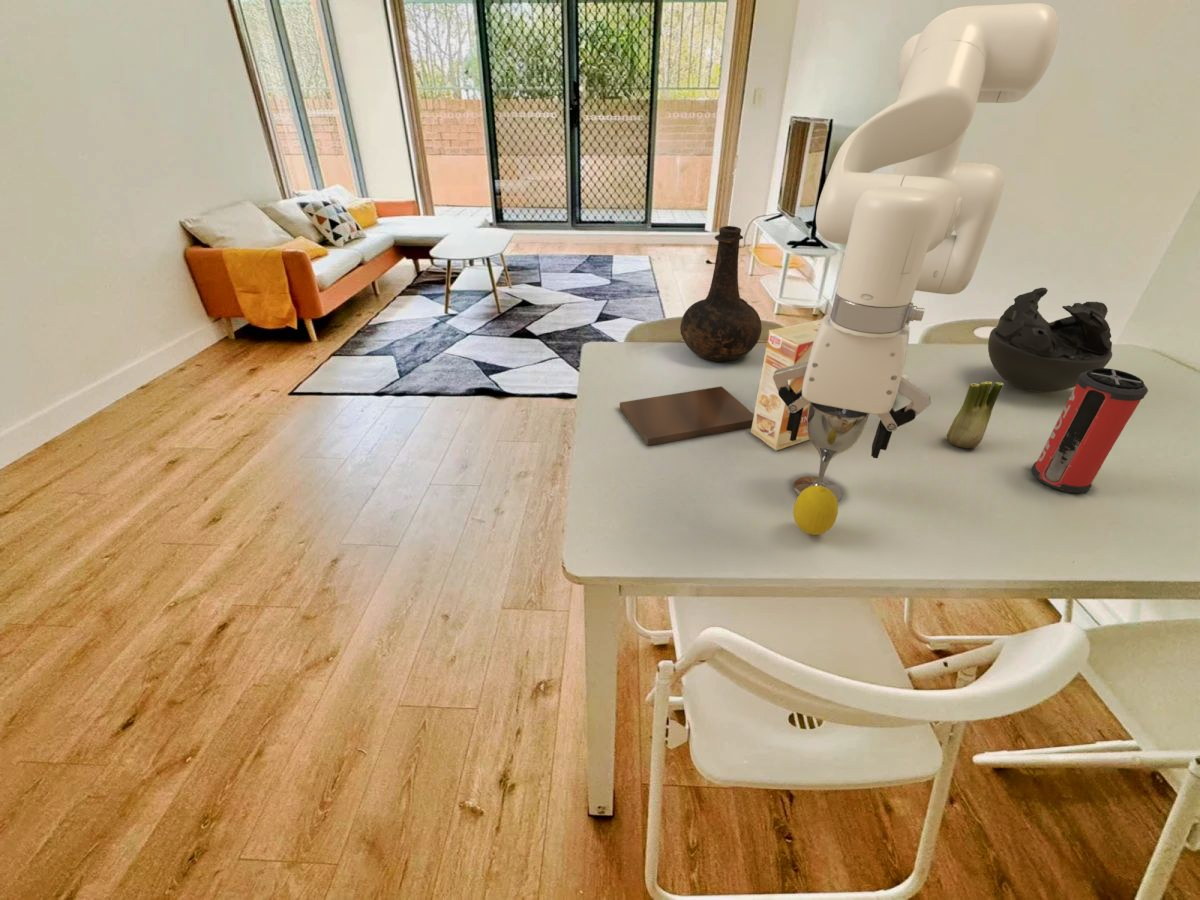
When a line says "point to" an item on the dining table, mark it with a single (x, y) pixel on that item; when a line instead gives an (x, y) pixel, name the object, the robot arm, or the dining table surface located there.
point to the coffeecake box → (770, 408)
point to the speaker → (1088, 428)
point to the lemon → (815, 510)
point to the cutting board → (686, 415)
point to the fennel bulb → (974, 415)
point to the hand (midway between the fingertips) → (833, 443)
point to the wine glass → (830, 440)
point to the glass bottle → (722, 309)
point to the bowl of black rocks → (1049, 344)
